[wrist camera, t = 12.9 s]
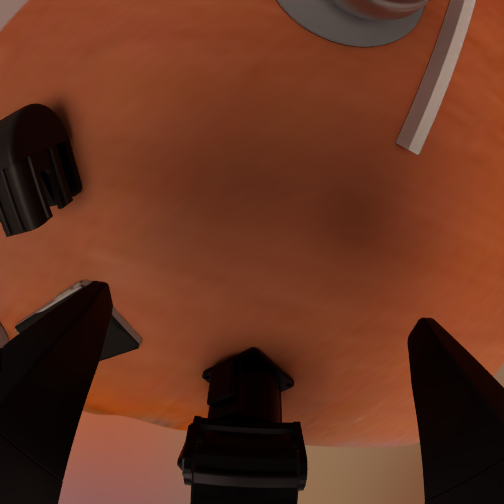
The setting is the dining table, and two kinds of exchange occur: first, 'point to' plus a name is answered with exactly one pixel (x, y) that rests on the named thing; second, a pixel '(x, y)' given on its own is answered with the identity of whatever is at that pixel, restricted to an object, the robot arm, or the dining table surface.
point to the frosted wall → (436, 75)
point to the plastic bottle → (381, 8)
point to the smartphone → (118, 331)
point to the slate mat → (347, 23)
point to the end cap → (34, 168)
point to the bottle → (3, 336)
